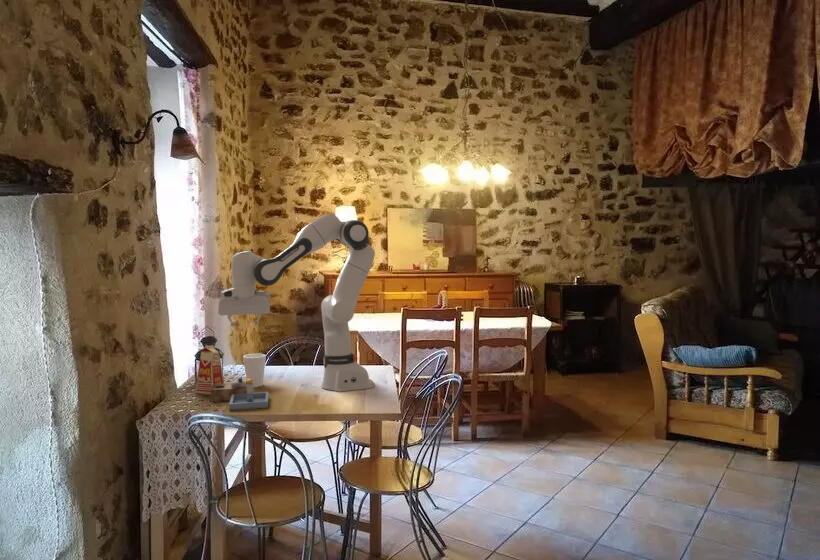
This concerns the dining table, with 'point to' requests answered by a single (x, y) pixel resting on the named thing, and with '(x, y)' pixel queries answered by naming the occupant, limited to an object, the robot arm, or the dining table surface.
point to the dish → (241, 402)
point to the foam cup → (255, 368)
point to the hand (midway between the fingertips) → (244, 325)
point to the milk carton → (209, 370)
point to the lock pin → (249, 390)
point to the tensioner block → (228, 390)
